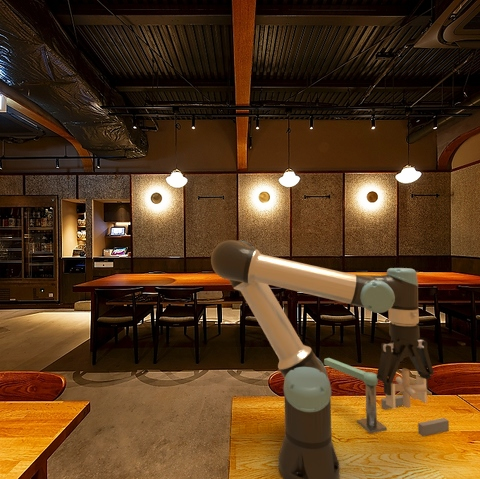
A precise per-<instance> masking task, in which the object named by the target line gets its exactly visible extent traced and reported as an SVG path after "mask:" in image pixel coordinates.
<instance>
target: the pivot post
mask: <svg viewBox="0 0 480 479" xmlns="http://www.w3.org/2000/svg"><path fill="white" fill-rule="evenodd" d="M365 410H366V411H365V413H366V414H365V415H366V416H365V418H360V419H357V420H356V421H357V424H358V425H359V426H361V427H362V428H364V430H365V431H366V432H368V433H369V434H375V433H379V432H385V431H387V427H386V426H385V425H384V424H383V423H382V422H380V421H379V420H377V419H378V417H377V415H378V414H377V412H378V411H377V385H375V386H371V385H367V384H365Z"/></svg>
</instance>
